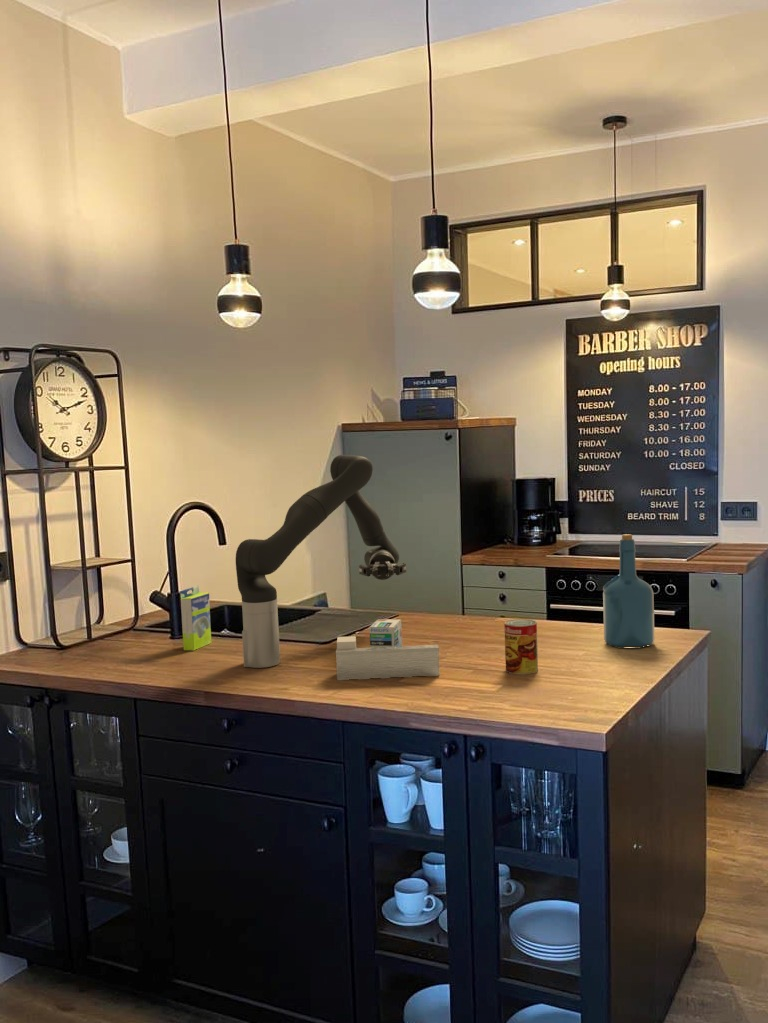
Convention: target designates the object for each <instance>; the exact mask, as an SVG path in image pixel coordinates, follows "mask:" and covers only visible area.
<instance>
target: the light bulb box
mask: <svg viewBox="0 0 768 1023" xmlns="http://www.w3.org/2000/svg"><path fill="white" fill-rule="evenodd" d="M402 627H403V626H402V619H389V618H388V619H385V618H383V619H382V618H378V619H376V620H375V621H374V622H373V623H372V624H371V625H370V626H369V628H368V630H369V648H373V647H396V646H403V631H402Z"/></svg>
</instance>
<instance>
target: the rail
mask: <svg viewBox="0 0 768 1023" xmlns="http://www.w3.org/2000/svg"><path fill="white" fill-rule="evenodd" d="M439 652H440V647H439V644H423V645H422V644H420V645H402V646H396V647H373V648H370V647H356V648H349V649H337V648H336V649H335V656H336V658H335V661H336V681H348V680H349V679H358V680H371V679H370V678H381V679H391V678H390V677H404V678H413V677H412V676H427V677H440V653H439ZM349 681H350V680H349Z"/></svg>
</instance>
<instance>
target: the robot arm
mask: <svg viewBox="0 0 768 1023" xmlns="http://www.w3.org/2000/svg"><path fill="white" fill-rule="evenodd" d="M373 468H374V467H373V464H372V461H371V460H370V459H368V458H367V457H365V456H363V455H362V456H361V455H356V454H355V455H353V454H339V455H337V456H335V457H334V458H333V459H332V461H331V464H330V467H329V471H330V472H329V473H330V476H331V479H332V480H331V481H329V482H326V483H324V484H321V485H319V486H316V487H314V488H313V489H311V490H310V489H309V491H307V492H305V493H304V494H302V495H301V496H300V497H298V499H297V500H296V501H295V502H293V504H291V506H289V508H288V510H287V511H286V514H285V518H284V521H283V523H282V526H281V527H280V528H279V529H278V530H277V531H276V532H274V533H273V534H272V535H271V536H269V537H268V538H266V539H256V538H253V539H252V538H248V539H245V540H243V541H241V542H240V543H239V544H238V546H237V548H236V552H235V570H236V579H237V587H238V591H239V593H240V596H241V608H242V626H243V630H242V631H241V635H242V636H241V637H242V639H241V640H242V654H243V656H242V658H243V668H255V669H258V668H259V669H260V668H262V669H263V668H269V667H275V666H278V665H279V664H281V654H280V653H281V652H280V632H279V631H280V629H279V616H278V615H279V613H278V612H279V611H278V594H277V589H276V587H275V586H274V585H272V584H271V583H270V582H269V581H268V580H267V578H266V576H268V575H271V574H273V573H275V572H276V571H277V570H278V569H279V568H280V567H281V566H282V565H283V563H284V562H285V561H286V559H287V558H288V557H289V556H290V555H291V554H292V552H294V550H295V549H296V548H297V546H299V545H300V544H301V543H302V542H303V541H304V540H305V539H307V537H308V536H309V535H311V533H312V532H313V531H315V530H316V529H317V528H318V527H319V526H320V525H322V523H323V522H325V520H327V518H328V517H330V515H331V514H332V513H333V512H335V510H337V509H338V508H339V507H340V506H341V505H342V504H344V503H345V504H346V505H347V508H348V509H349V510H350V512H351V514H352V517H353V518H354V520H355V523H356V526H357V528H358V531H359V533H360V536H361V538H362V541H363V543H364V544H365V546H367V547H374V548H371V549H368V550H367V551H366V552H365V554H364V563H365V565H363V564H359V565H358V571H359V575H362V576H363V577H364V576H365V577H371V576H372V577H374V579H377V580H381V581H386V580H388V579H391V577H392V576H394V575H396V576H400V575H403V574H405V573H407V565H406V564H407V563H405V562H403V563H399V560H400V554H399V551H398V550H397V548H396V547H395V546H394V544H393V543H392V542H391V540H389V538H388V536H387V534H386V531H385V530H384V526H383V525H382V522H381V519H380V516H379V515H378V513H377V511H376V510H375V509H374V508H373V506H372V505H371V504H370V503H369V502H368V501H367V500H366V498H365V497H364V496H363V494H362V493H361V492H360V490H362V488H364V487H365V486H366V485H367V484H368V483H369V481H370V480H371V477H372V475H373V470H374V469H373ZM398 563H399V564H398Z"/></svg>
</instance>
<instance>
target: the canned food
mask: <svg viewBox="0 0 768 1023" xmlns="http://www.w3.org/2000/svg"><path fill="white" fill-rule="evenodd" d="M504 650H505V652H504V654H505V655H504V656H505V657H504V658H505V671H506V672H507V673H508V672H510V673H509V674H512V673H515V674H514V675H530V674H529V673H532V674H535V673H537V672H538V671H539V664H538V663H539V661H538V660H539V659H538V657H539V656H538V655H539V654H538V623H537V621H536V620H532V619H527V618H525V619H523V618H521V619H520V618H518V619H510V620H506V621H505V622H504ZM534 672H535V673H534Z"/></svg>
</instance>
